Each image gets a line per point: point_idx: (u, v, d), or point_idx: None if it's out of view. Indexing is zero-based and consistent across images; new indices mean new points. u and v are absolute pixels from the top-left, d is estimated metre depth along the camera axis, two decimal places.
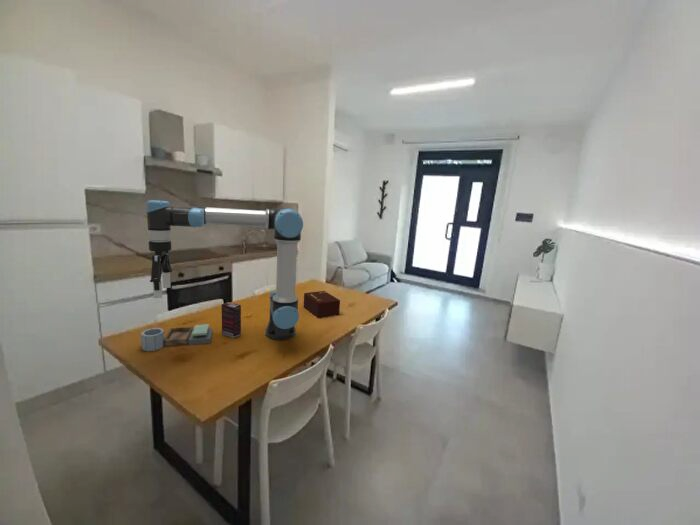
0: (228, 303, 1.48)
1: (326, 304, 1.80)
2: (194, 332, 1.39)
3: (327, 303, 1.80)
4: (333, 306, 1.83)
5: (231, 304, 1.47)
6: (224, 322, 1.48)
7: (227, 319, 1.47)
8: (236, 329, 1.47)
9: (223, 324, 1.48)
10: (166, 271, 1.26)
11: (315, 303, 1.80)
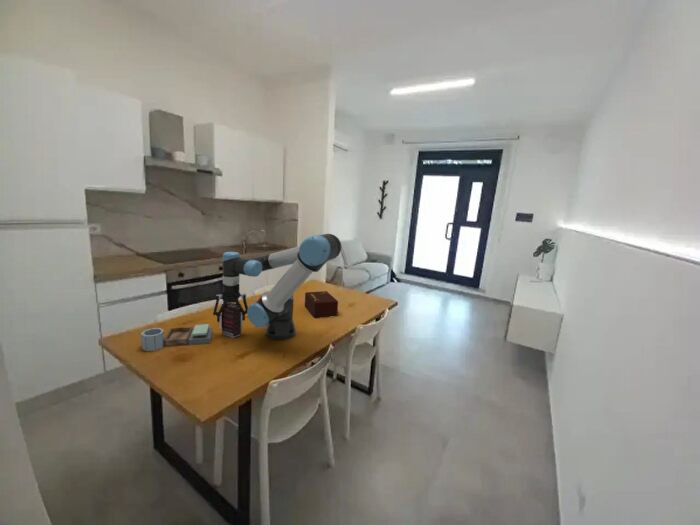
0: (228, 303, 1.48)
1: (323, 304, 1.79)
2: (194, 332, 1.39)
3: (324, 303, 1.79)
4: (330, 307, 1.82)
5: (231, 304, 1.47)
6: (224, 322, 1.48)
7: (227, 319, 1.47)
8: (236, 329, 1.47)
9: (223, 324, 1.48)
10: (242, 313, 1.50)
11: (312, 303, 1.81)
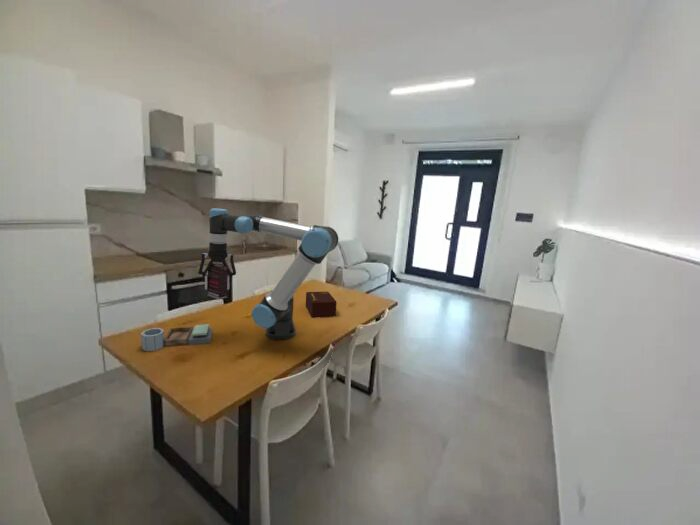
0: (215, 263, 1.42)
1: (321, 304, 1.79)
2: (194, 332, 1.39)
3: (322, 303, 1.79)
4: (328, 307, 1.81)
5: (218, 264, 1.41)
6: (210, 282, 1.42)
7: (213, 279, 1.40)
8: (222, 290, 1.41)
9: (209, 285, 1.42)
10: (229, 274, 1.43)
11: (310, 302, 1.81)
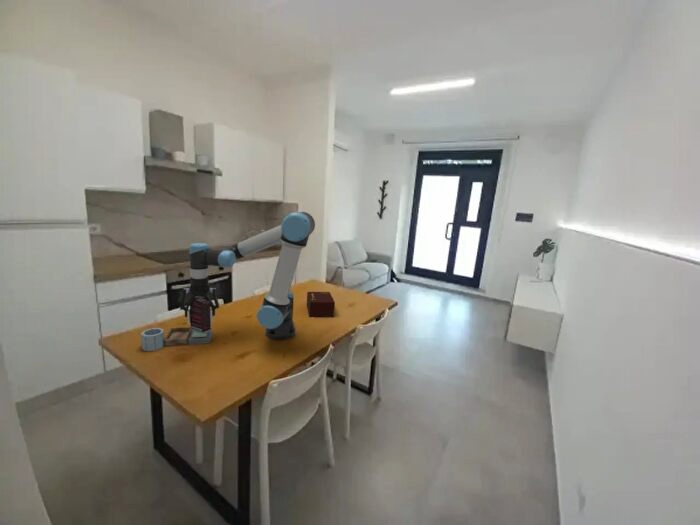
0: (197, 297, 1.41)
1: (318, 304, 1.79)
2: (194, 334, 1.39)
3: (319, 303, 1.79)
4: (326, 307, 1.80)
5: (200, 298, 1.40)
6: (192, 317, 1.41)
7: (195, 314, 1.39)
8: (205, 324, 1.40)
9: (192, 319, 1.41)
10: (212, 308, 1.42)
11: (309, 302, 1.82)
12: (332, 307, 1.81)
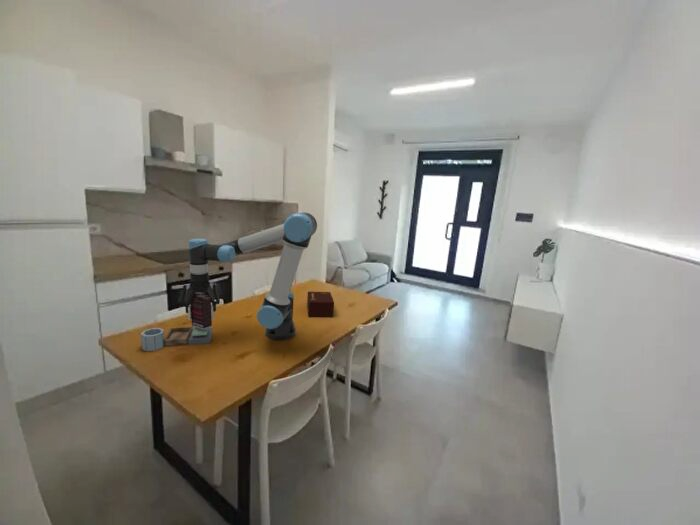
0: (197, 293, 1.41)
1: (318, 304, 1.79)
2: (194, 332, 1.39)
3: (318, 303, 1.79)
4: (326, 307, 1.80)
5: (200, 294, 1.40)
6: (193, 313, 1.40)
7: (196, 310, 1.39)
8: (206, 320, 1.40)
9: (192, 315, 1.41)
10: (212, 303, 1.42)
11: (308, 302, 1.82)
12: (331, 307, 1.81)
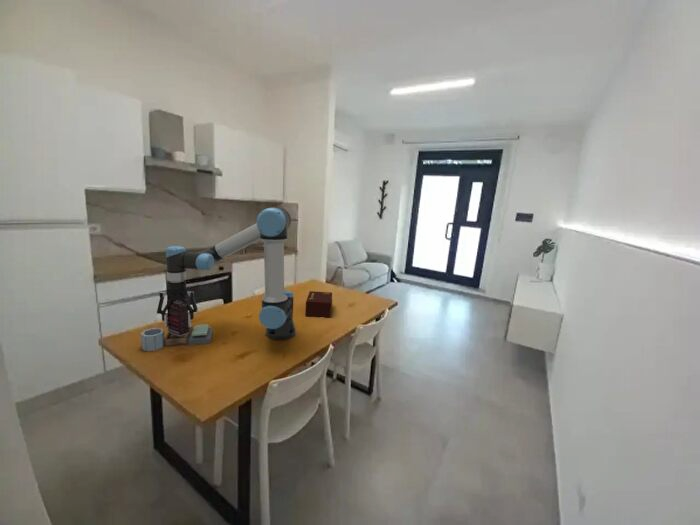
0: None
1: (314, 304, 1.79)
2: (194, 332, 1.39)
3: (315, 303, 1.79)
4: (322, 307, 1.79)
5: (177, 300, 1.38)
6: (170, 319, 1.39)
7: (172, 316, 1.38)
8: (183, 327, 1.38)
9: (169, 322, 1.39)
10: None
11: None
12: (328, 308, 1.80)
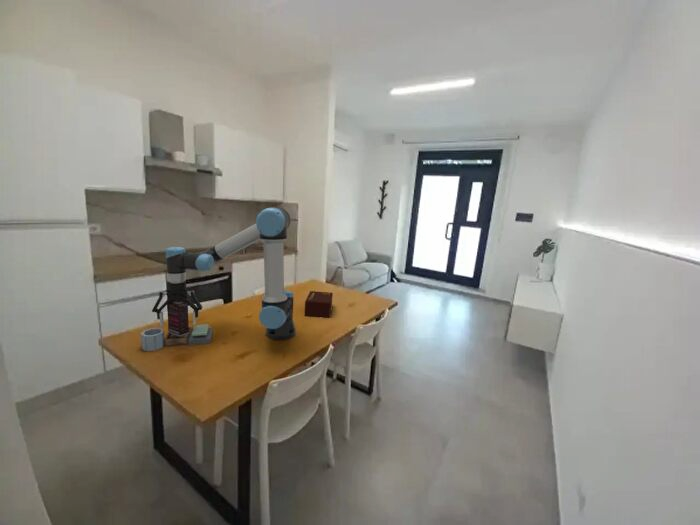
0: None
1: (313, 304, 1.79)
2: (194, 332, 1.39)
3: (314, 303, 1.79)
4: (321, 307, 1.79)
5: None
6: (170, 319, 1.39)
7: (172, 316, 1.38)
8: (183, 327, 1.38)
9: (169, 322, 1.39)
10: None
11: None
12: (327, 308, 1.79)
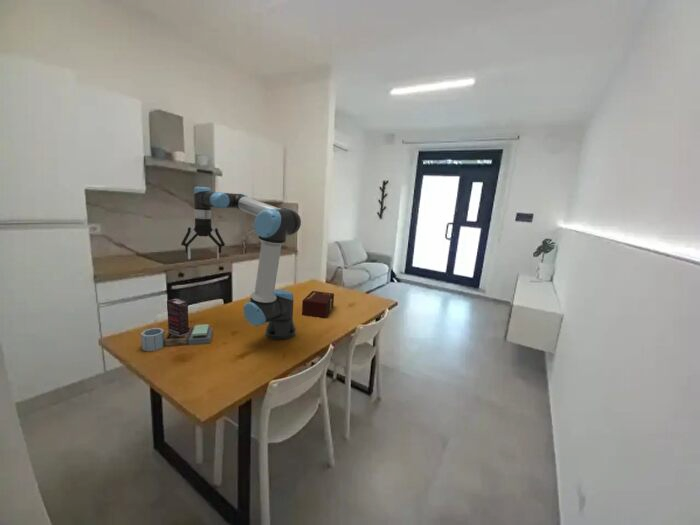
0: (174, 299, 1.39)
1: (310, 303, 1.79)
2: (194, 332, 1.39)
3: (311, 302, 1.79)
4: (318, 307, 1.79)
5: (177, 300, 1.38)
6: (170, 319, 1.39)
7: (172, 316, 1.38)
8: (183, 327, 1.38)
9: (169, 322, 1.39)
10: None
11: None
12: (324, 308, 1.78)
